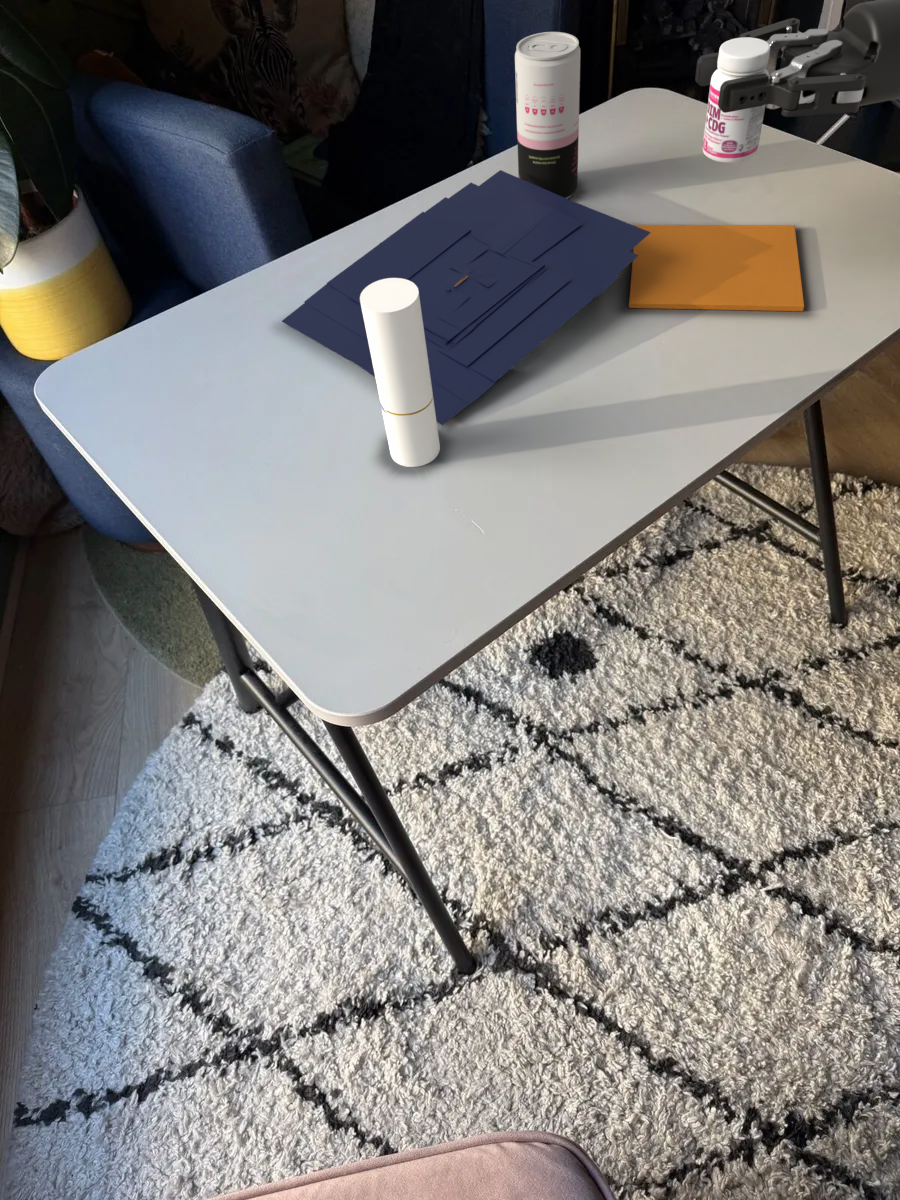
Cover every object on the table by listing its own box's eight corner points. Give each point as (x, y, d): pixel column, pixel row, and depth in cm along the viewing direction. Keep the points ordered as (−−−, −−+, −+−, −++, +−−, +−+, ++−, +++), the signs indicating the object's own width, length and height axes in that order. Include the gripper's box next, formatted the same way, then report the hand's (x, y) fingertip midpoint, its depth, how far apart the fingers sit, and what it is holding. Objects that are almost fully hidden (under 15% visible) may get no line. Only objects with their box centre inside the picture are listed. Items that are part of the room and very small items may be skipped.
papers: (666, 263, 86) (667, 230, 83) (450, 448, 78) (442, 419, 75) (491, 188, 98) (486, 156, 95) (288, 341, 90) (276, 312, 87)
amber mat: (793, 230, 90) (794, 224, 89) (803, 311, 81) (804, 306, 81) (634, 229, 92) (635, 224, 92) (628, 308, 84) (629, 302, 84)
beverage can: (528, 174, 102) (525, 29, 90) (583, 179, 100) (587, 32, 88) (511, 203, 98) (506, 56, 86) (568, 208, 96) (571, 59, 84)
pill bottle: (691, 156, 78) (703, 52, 71) (719, 134, 80) (733, 30, 73) (739, 169, 76) (756, 63, 69) (767, 146, 78) (786, 40, 71)
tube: (450, 446, 75) (430, 290, 63) (415, 474, 73) (388, 319, 61) (415, 425, 77) (389, 271, 65) (380, 452, 75) (347, 298, 63)
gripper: (876, -33, 75) (684, 3, 74) (967, 27, 66) (750, 69, 66) (853, 63, 81) (675, 97, 80) (934, 130, 72) (734, 169, 71)
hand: (710, 84), depth 73 cm, fingers closed on pill bottle, 4 cm apart
